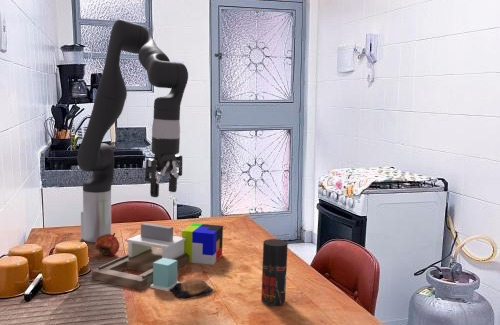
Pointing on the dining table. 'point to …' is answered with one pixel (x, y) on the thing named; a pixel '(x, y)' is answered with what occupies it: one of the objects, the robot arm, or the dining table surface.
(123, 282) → the brown flat frame
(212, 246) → the puzzle toy
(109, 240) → the pomegranate
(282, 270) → the deodorant
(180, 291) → the bread roll
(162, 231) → the cover
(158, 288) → the pad
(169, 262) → the block
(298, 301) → the dining table surface
